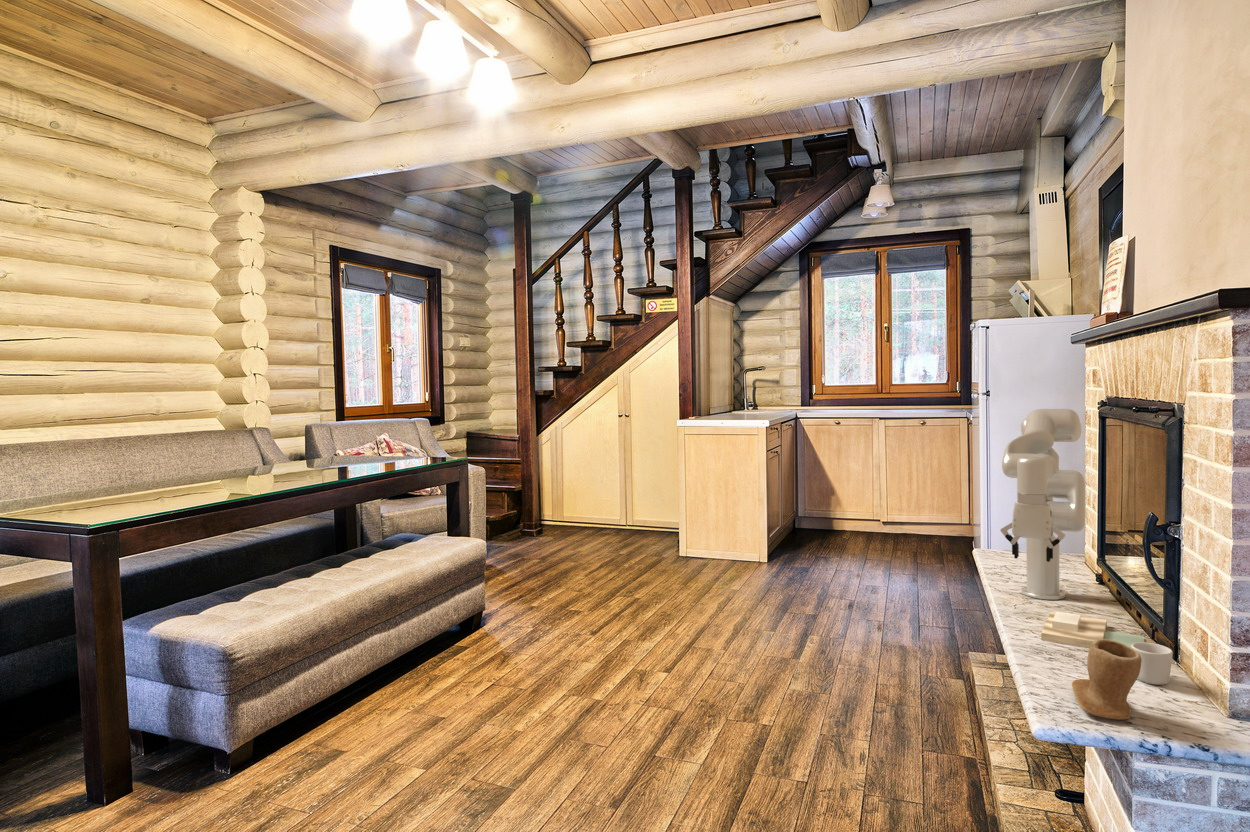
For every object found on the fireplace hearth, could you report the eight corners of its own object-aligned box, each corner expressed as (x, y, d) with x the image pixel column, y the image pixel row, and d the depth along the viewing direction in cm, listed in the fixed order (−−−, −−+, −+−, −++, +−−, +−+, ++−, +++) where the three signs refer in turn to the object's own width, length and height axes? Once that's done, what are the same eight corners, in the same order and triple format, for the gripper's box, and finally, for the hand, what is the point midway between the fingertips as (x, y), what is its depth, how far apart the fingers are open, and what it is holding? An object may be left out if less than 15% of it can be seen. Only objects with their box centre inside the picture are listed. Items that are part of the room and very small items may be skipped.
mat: (1105, 632, 202) (1105, 630, 202) (1144, 638, 196) (1144, 636, 196) (1101, 652, 187) (1101, 650, 187) (1143, 659, 182) (1143, 657, 182)
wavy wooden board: (1051, 618, 215) (1051, 611, 215) (1106, 626, 206) (1106, 619, 206) (1041, 639, 197) (1041, 632, 197) (1101, 650, 189) (1101, 642, 189)
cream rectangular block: (1056, 618, 209) (1056, 611, 209) (1080, 621, 205) (1080, 614, 205) (1052, 627, 201) (1052, 620, 201) (1077, 631, 197) (1077, 624, 197)
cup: (1137, 668, 177) (1137, 636, 177) (1177, 676, 171) (1177, 644, 171) (1127, 681, 169) (1127, 648, 169) (1169, 691, 164) (1169, 656, 163)
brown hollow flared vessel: (1146, 729, 147) (1146, 657, 146) (1078, 718, 152) (1078, 649, 151) (1133, 699, 160) (1133, 633, 159) (1070, 690, 165) (1070, 627, 165)
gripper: (1068, 499, 204) (1068, 560, 205) (1001, 495, 215) (1001, 553, 216) (1065, 503, 198) (1065, 565, 199) (996, 498, 209) (996, 558, 210)
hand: (1032, 558), depth 207 cm, fingers open, 7 cm apart
